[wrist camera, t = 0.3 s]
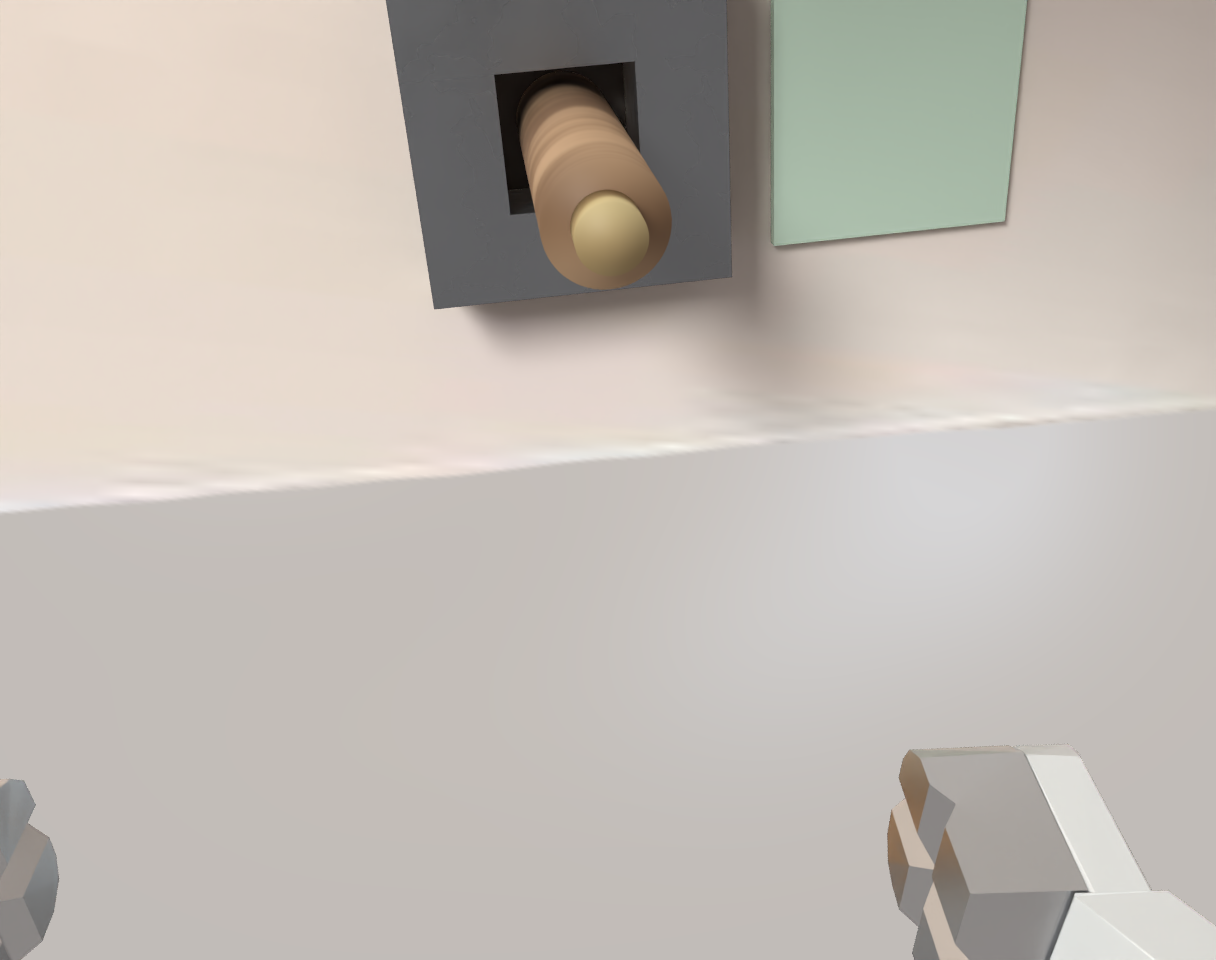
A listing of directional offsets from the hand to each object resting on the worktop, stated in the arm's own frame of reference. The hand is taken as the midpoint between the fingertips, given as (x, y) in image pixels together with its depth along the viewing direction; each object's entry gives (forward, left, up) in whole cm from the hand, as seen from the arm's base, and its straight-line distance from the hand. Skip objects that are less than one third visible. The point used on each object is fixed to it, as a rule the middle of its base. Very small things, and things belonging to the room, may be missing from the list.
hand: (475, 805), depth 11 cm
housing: (+3, +4, -46) cm, 47 cm away
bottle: (+3, +4, -46) cm, 47 cm away
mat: (+3, +20, -46) cm, 51 cm away
